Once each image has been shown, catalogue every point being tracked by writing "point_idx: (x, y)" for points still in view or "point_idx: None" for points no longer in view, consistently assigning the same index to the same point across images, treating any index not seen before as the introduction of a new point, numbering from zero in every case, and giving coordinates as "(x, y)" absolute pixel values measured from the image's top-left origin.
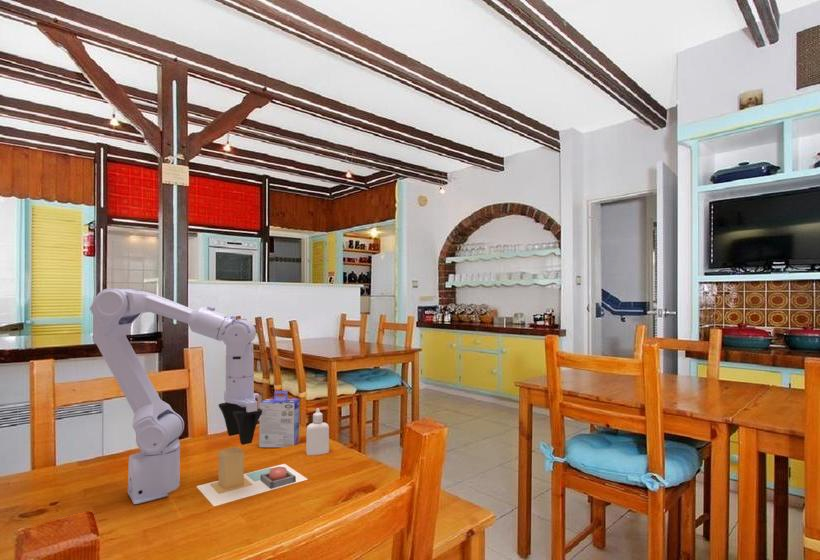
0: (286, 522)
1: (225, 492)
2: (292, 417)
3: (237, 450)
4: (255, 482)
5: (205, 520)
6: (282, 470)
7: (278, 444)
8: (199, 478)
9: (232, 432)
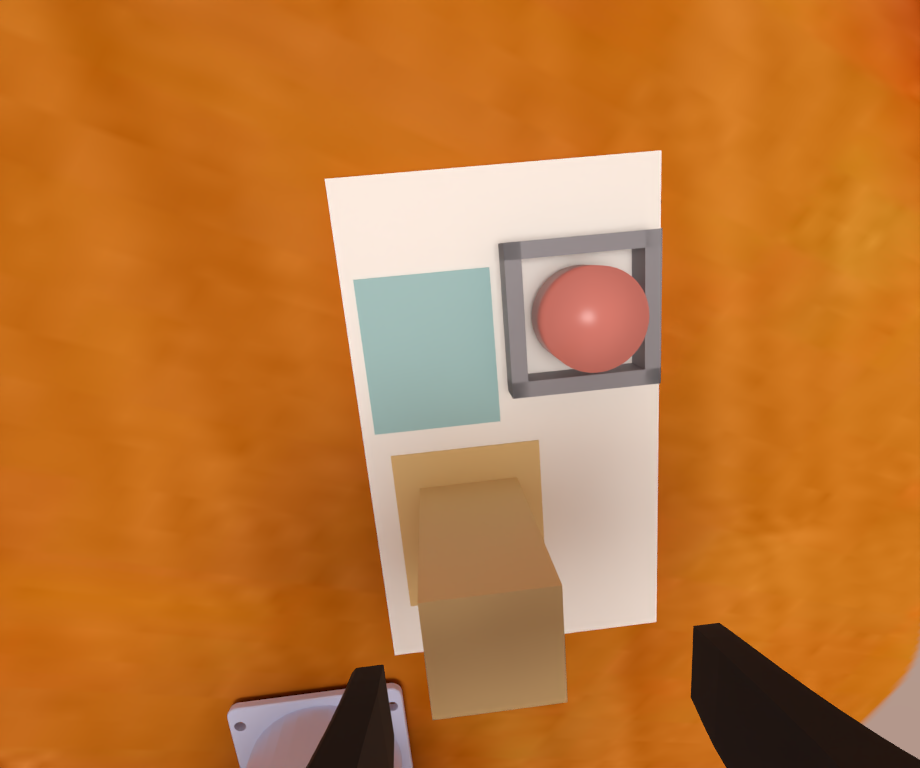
0: None
1: None
2: None
3: (505, 618)
4: (518, 419)
5: None
6: (624, 300)
7: None
8: (254, 614)
9: (386, 741)
